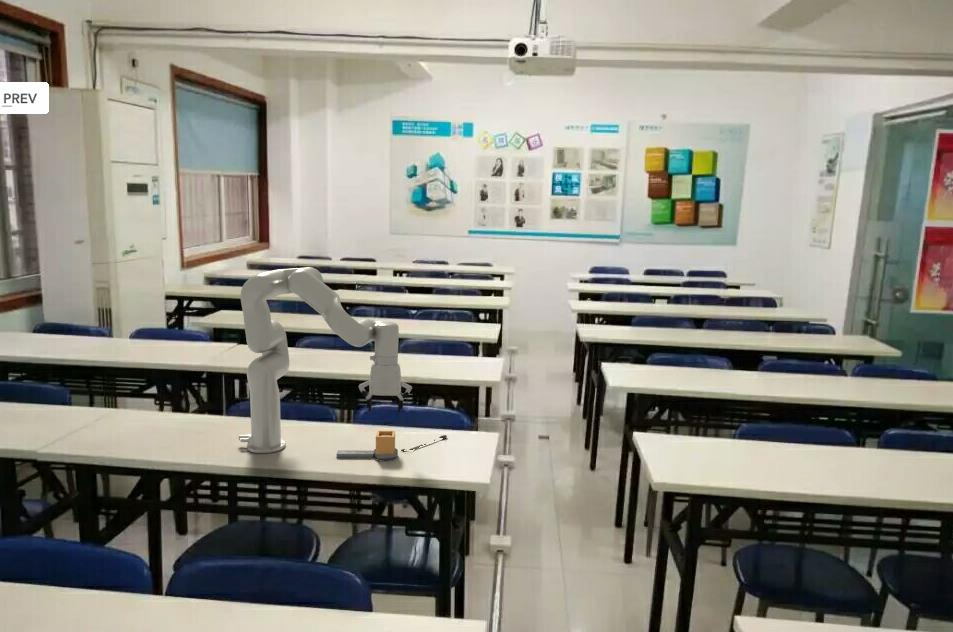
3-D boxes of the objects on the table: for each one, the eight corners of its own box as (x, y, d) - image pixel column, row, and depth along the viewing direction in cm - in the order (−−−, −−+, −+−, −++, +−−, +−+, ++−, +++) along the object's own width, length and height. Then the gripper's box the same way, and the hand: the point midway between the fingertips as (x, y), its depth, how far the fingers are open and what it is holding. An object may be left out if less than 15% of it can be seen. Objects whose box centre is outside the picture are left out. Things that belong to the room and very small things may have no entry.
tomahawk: (413, 459, 223) (413, 456, 223) (400, 452, 227) (400, 449, 227) (456, 443, 239) (456, 440, 238) (443, 436, 243) (443, 434, 243)
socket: (375, 454, 219) (375, 436, 218) (377, 447, 225) (377, 430, 224) (394, 454, 219) (394, 436, 218) (395, 447, 225) (395, 430, 224)
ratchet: (335, 460, 217) (335, 440, 216) (338, 451, 225) (338, 432, 224) (397, 461, 219) (397, 440, 217) (398, 452, 226) (398, 432, 225)
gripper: (357, 361, 212) (356, 413, 215) (412, 363, 214) (410, 415, 217) (360, 356, 220) (359, 406, 223) (413, 358, 221) (411, 407, 224)
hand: (384, 410), depth 220 cm, fingers open, 9 cm apart
